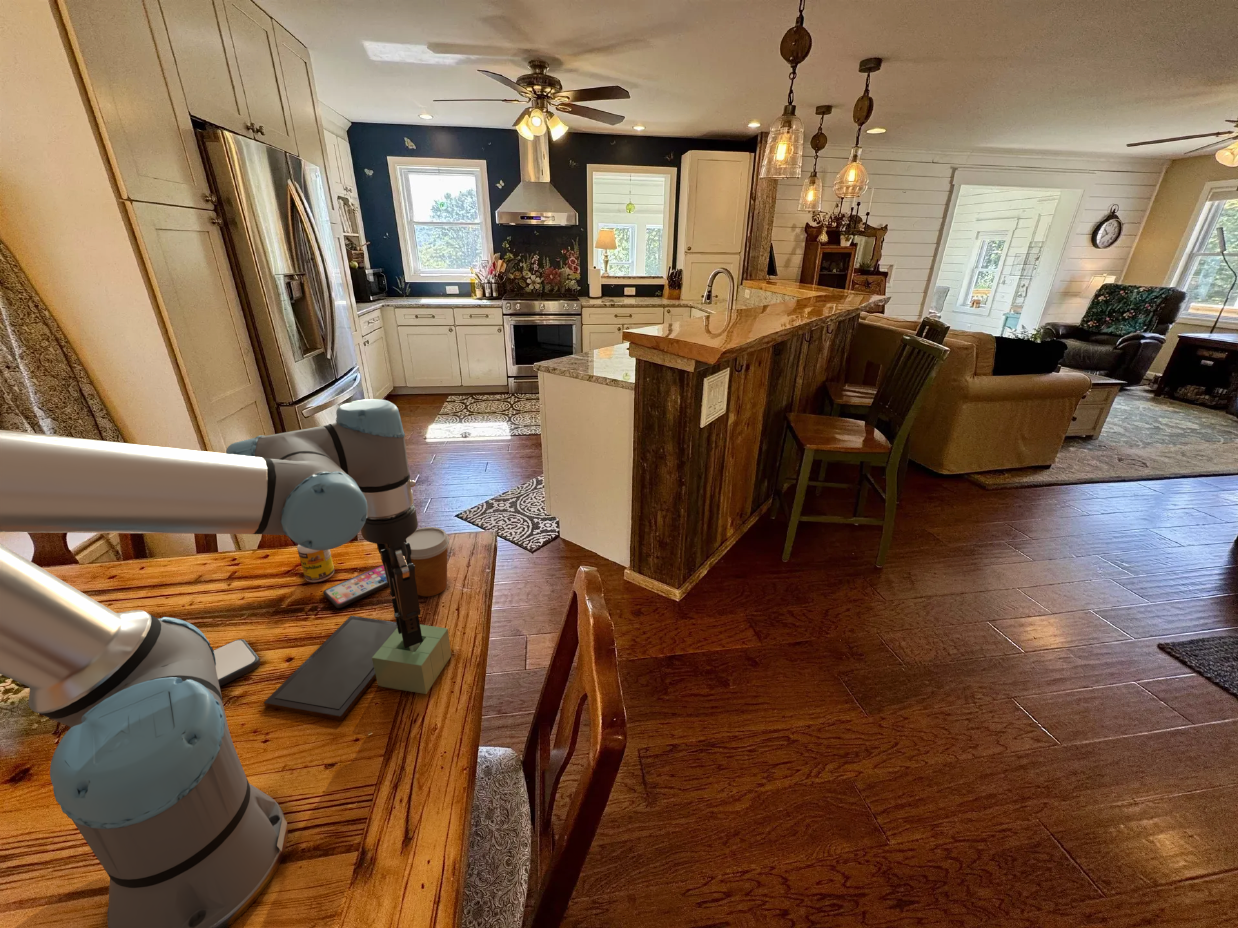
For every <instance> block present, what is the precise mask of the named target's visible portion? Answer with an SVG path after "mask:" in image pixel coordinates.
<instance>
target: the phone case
mask: <svg viewBox="0 0 1238 928" xmlns="http://www.w3.org/2000/svg"><path fill="white" fill-rule="evenodd" d="M213 651H214V654H215V659H216V672H217V677H218V682H219V686H220V688H221V687H222V686H225V685H227V684H228V683H230V682H233V681H235V680H236V679H239V678H240V677H242V676H244V675H246V674H249V673H250V672H253V671H254V670H256V669H257V668H258V667H259V666H260V665H261V659H260V657H259V655H258V654H257V653H256V651H254V649H253V648H252V647H251V645H250V644H249V643H248V642H247V641H246V640H245V639H244V638H239V639H235V640H233V641H230V642H228V643H226V644H224V645H222V646H219V647H217V648H215V649H213Z"/></svg>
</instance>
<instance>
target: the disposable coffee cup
mask: <svg viewBox="0 0 1238 928" xmlns="http://www.w3.org/2000/svg"><path fill="white" fill-rule="evenodd" d="M406 542H407V543H409V544H410V547H411V552H412V553H411V561H412V563H413V564H414V565H415V580H416V587H417V594H418V596H420V597H434V596H436V595H439V594H441V593H442V592H444V591H445V590H446V589H447V586H448V547H449V544H450V537H449V535H448V534H447V532H446V531H445V530H444V529H442V528H440V527H434V526H425V527H419V528H417V529H416V531H415V532H414V533H413V534H412V535H410V536H409V537H408V538H407V539H406Z"/></svg>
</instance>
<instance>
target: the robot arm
mask: <svg viewBox="0 0 1238 928" xmlns="http://www.w3.org/2000/svg"><path fill="white" fill-rule="evenodd" d="M335 413H336V418H335V422H332V423H329V424H326V425H321V426H316V427H309V428H304V429H297V430H292V431H285V432H280V433H275V434H268V435H262V434H261V435H257V436H255V437H253V438H248V439H243V440H240V441H236V442H232V443H230V445H228V446H227V448H226V449H225V450H226V451H225V453H223V452H214V451H206V450H205V451H204V450H197V449H194V450H193V449H184V448H176V447H167V446H157V445H147V444H139V443H129V442H118V441H109V440H100V439H91V438H80V437H71V436H62V435H53V434H43V433H34V432H24V431H15V430H6V429H0V533H57V534H61V533H62V534H63V533H64V534H65V533H67V534H69V533H70V534H170V535H171V534H173V535H174V534H175V535H176V534H179V535H180V534H181V535H183V534H184V535H186V534H187V535H188V534H189V535H198V534H199V535H267V536H268V535H270V536H286V537H288V538H289V539H290V540H291V541H292V542H294V543H296V544H297V545H301V546H303V547H305V548H309V549H312V550H329V549H330V550H333V549H337V548H339V547H341V546H343V545H345V544H347V543H349V542H350V541H352V540H353V539H355V538H356V536H357V535H358V534H359V533H361V536H362V538H363V539H364V540H365V541H366V542H368V543H370V544H375V545H376V547H377V550H378V554H380V560H381V563H382V565H384V570H385V575H386V580H387V587H388V589H389V595H390V596H391V603H392V608H393V616H394V619H395V622H396V624H397V629H398V633H399V634H401V633H402V638H403V644H404V647H405V648H408V647H410V646H413V645H415V644H418V643H420V642H423V640H422V634H421V628H420V624H421V623H420V617H419V616H420V615H421V612H422V610H421V608H420V607H421V606H420V601H419V595H418V594H417V587H416V580H415V565H414V564H413V563H412V561H411V553H412V552H411V547H410V544H409V543H407V542H406V539H407V538H408V537H409V536H410V535H412V534H413V533H414V532H415V531H416V529H418V527H419V522H418V515H417V509H416V505H415V504H414V502H415V501H414V500H415V499H414V492H413V490H412V488H414V487H416V483H417V482H416V481H415V480H414V479H412V480H411V475H410V468H409V460H408V452H407V445H406V439H405V436H406V433H405V431H404V427H403V422H402V417H401V414H400V411H399V408H398V407H397V405H396V404H395V403H393V402H391V401H389V400H386V399H380V398H367V399H359V400H352V401H351V402H346V403H342V404H341V405H340V406H338V407H337V409H336V412H335ZM213 648H214V647H213V646H211V643H210V641H209V640H208V638H207V637H206V636H205V634H204V633H203V632H202V631H201V630H200V629H199V628H198V627H197V626H195V625H193V624H192V623H190V622H188V621H185V620H183V619H179V618H176V617H169V616H162V617H161V618H157V617H156V616H154V615H153V614H150V613H149V612H147V611H145V610H143V609H131V610H126V611H120V612H115V611H113V610H112V609H110V608H109V607H108V606H106V605H104V604H102V603H101V602H99V601H97V600H96V599H94V598H92V597H91V596H89V595H87V594H86V593H83V591H81V590H79V589H77V588H75V586H72V585H71V584H69V583H67V582H66V581H64V580H62V579H61V578H60V577H57V576H56V575H54V574H52V573H51V572H50V571H48V570H46V569H44V568H42V567H41V566H39V565H37V564H36V563H34V562H32V561H31V560H29V559H28V558H26V557H24V556H23V555H21V554H20V553H17V552H16V551H14V550H13V549H11V548H10V547H8V546H6V545H4V544H3V543H1V542H0V675H2V676H4V677H6V678H8V679H11V680H13V681H15V682H17V683H20V684H21V685H24V686H26V687H28V688H29V694H28V702H27V703H28V704H27V705H28V708H29V709H30V710H31V711H32V712H35V713H37V714H39V715H42V716H43V717H46V718H48V719H50V720H53V721H56V722H58V723H60V724H62V725H65V726H67V727H70V728H69V729H68V730H67V731H66V732H65V734H64V735H63V736H62V738H61V739H60V741H59V743H58V744H57V746H56V748H55V750H54V752H53V755H52V758H51V761H50V767H49V777H50V782H51V786H52V787H53V788H52V789H53V795H54V798H55V801H56V802H57V803H58V805H59V806H60V809H61V812H62V813H63V814H65V815H66V816H67V817H68V818H69V819H71V820H72V822H73V823H74V825H75V827H76V828H77V830H78V832H79V833H80V834H81V836H82V838H83V839H84V840H85V842H86V843H87V845H88V847H89V848H90V850H91V851H92V853H93V854H94V855H95V857H96V859H97V860H98V862H99V863H100V864H101V866H102V868H103V870H104V871H105V872H106V874H107V876H108V878H109V885H108V886H109V887H108V907H107V914H106V915H107V927H108V928H228V927H229V926H231V925H232V924H233V923H234V922H235V921H236V920H237V919H238V918H240V917H241V916H242V915H243V914H244V913H245V912H246V911H247V910H248V909H249V908H250V907H251V906H252V905H253V904H254V903H255V902H256V901H257V899H259V897H260V896H261V895H262V893H263V892H264V890H265V889H266V888H267V887H268V885H269V884H270V882H271V881H272V879H273V877H274V876H275V874H276V873H277V872H278V868H280V865H281V863H282V861H283V857H284V855H285V852H286V850H287V845H288V840H289V827H288V826H289V825H288V821H287V819H286V817H285V813H284V811H283V809H282V806H280V804H279V803H278V802H277V801H276V800H275V799H274V798H273V797H271V796H270V795H269V794H267V793H265V792H264V791H262V790H260V788H258V787H256V786H254V785H253V784H251V783H250V782H249V780H248V778H247V775H246V773H245V769H244V768H243V765H242V762H241V760H240V758H239V755H238V753H237V750H236V748H235V745H234V742H233V739H232V736H231V732H230V728H229V724H228V719H227V714H226V710H225V706H224V703H223V695H222V692H221V691H222V690H221V687H220V686H219V682H218V677H217V672H216V659H215V654H214V651H213V650H214V649H213Z"/></svg>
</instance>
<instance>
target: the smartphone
mask: <svg viewBox="0 0 1238 928" xmlns="http://www.w3.org/2000/svg"><path fill="white" fill-rule="evenodd" d="M386 587H388V586H387V580H386V575H385V570H384V565H383V564H381V565H379V566H377V567H374V568H372V569H370V570H367V571H364V572H363V573H360V574H358V575H356V576H354V577H352V578H349V579H347V580H344V581H342V582H339V583H337V584H335V585H333V586H331V587H327V588H326V589H325V590H323V596H324V597H325V598H326V599H327V600H329V602H331V604H332V605H333V606H334V607H335V608H337V609H341V608H344V607H347V606H348V605H350V604H352V603H355V602H357V601H359V600H361V599H363V598H365V597H367V596H370V595H372V594H374V593H376V592H378V591H380V590H383V589H384V588H386Z"/></svg>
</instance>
